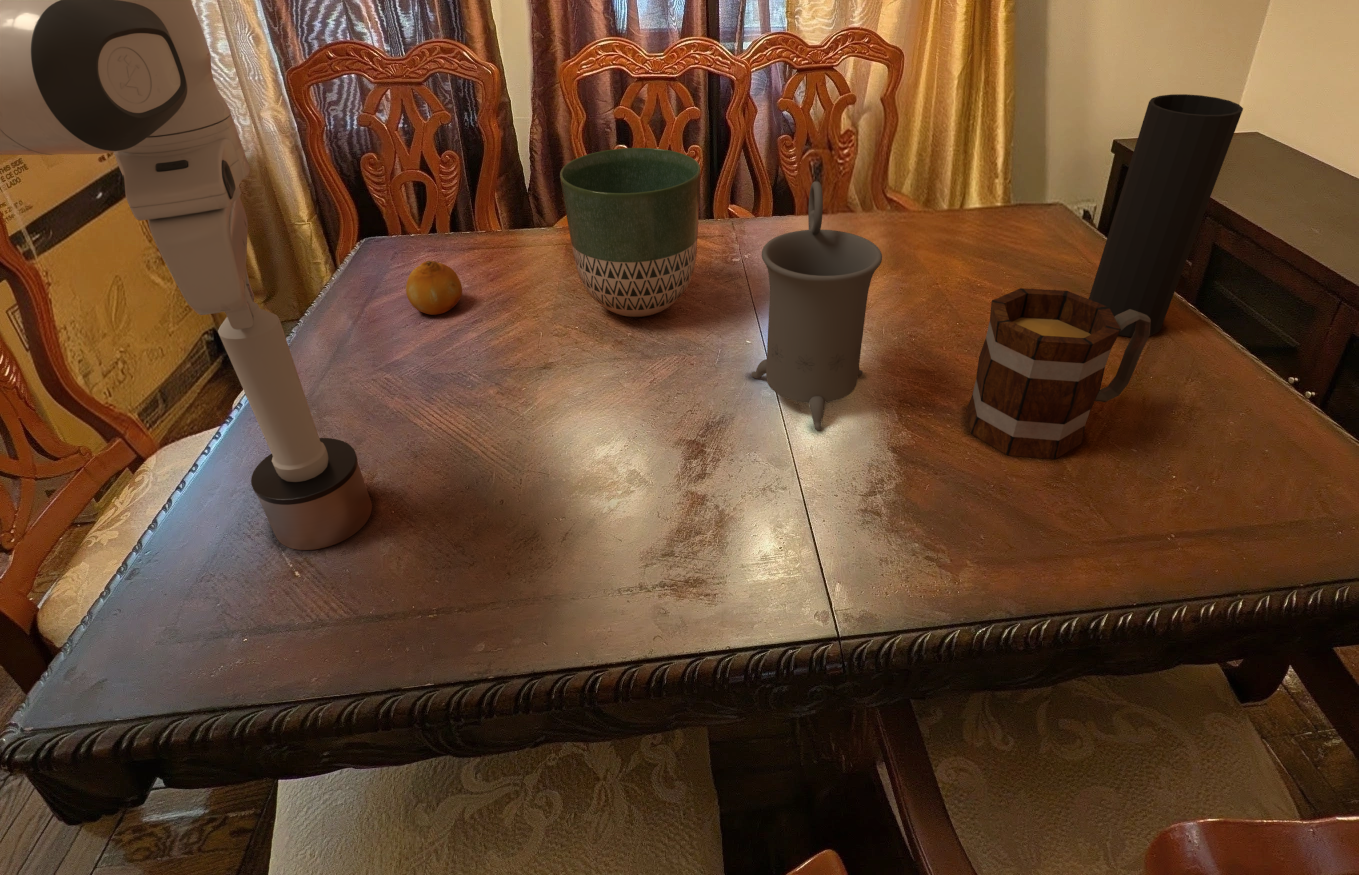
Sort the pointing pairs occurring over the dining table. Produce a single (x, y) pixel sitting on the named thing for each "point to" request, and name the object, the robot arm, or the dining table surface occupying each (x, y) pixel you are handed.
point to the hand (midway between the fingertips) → (244, 314)
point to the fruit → (433, 288)
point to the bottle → (275, 394)
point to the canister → (315, 500)
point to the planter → (633, 226)
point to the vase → (1163, 203)
